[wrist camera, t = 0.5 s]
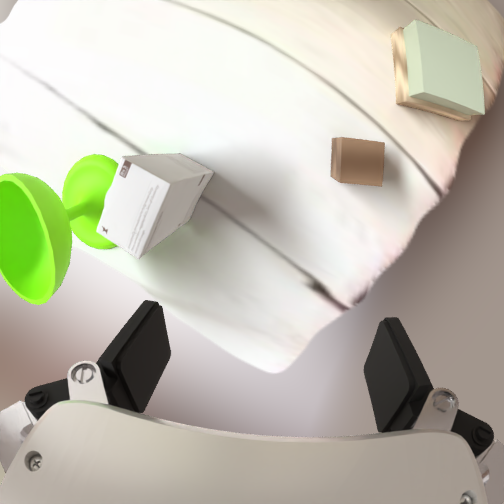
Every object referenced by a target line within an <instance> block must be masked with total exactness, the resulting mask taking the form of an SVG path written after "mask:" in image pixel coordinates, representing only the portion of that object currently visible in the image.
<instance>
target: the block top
mask: <svg viewBox="0 0 504 504" xmlns="http://www.w3.org/2000/svg"><path fill="white" fill-rule="evenodd" d="M403 34H404V41H405V49H406V58H407V70H408V86H409V96H410V97H414V98H417V99H421V100H424V101H428V102H431V103H434V104H438V105H441V106H444V107H447V108H450V109H453V110H455V111H458V112H461V113H464V114H466V115H484V114H485V108H484V93H483V82H482V74H481V66H480V60H479V54H478V49H477V46H475V45H473V44H471V43H469V42H467V41H465V40H463V39H461V38H459V37H457V36H455V35H453V34H451V33H448V32H446V31H444V30H442V29H439V28H437V27H434V26H432V25H429V24H427V23H424V22H421V21H418V20H414V21H413V22H411V23H410V24H409V25H408V26H407V27H405V28H404V29H403Z"/></svg>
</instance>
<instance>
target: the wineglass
mask: <svg viewBox="0 0 504 504" xmlns="http://www.w3.org/2000/svg"><path fill="white" fill-rule="evenodd" d="M117 168H118V164H117V163H116V162H115V161H114V160H113V159H111V158H109V157H106V156H104V155H96V154H93V155H89V156H86V157H84V158H82V159H81V160H79V161H78V162H76V163H75V164H74V166H73V167H72V168H71V170H70V171H69V173H68V175H67V177H66V179H65V182H64V187H63V192H62V201H61V200H60V198H59V196H58V195H57V194H56V193H55V192H54V191H53V190H52V189H51V188H50V187H49V186H48V185H47V184H46V183H45V182H43V181H42V180H40V179H38V178H37V177H34V176H30V175H27V174H22V173H11V174H4V175H2V176H0V273H1V274H2V276H3V278H4V280H5V281H6V282H7V284H8V285H9V286H10V287H11V288H12V290H13V291H14V292H15V293H16V294H17V295H19V296H20V297H21V298H22V299H24V300H25V301H27V302H29V303H32V304H37V305H40V304H43V303H46V302H47V301H48V300H49V298H50V297H51V296H52V295H53V294H54V293H55V291H56V290H57V289H58V288H59V287H60V286H61V283H62V281H63V279H64V277H65V274H66V272H67V269H68V267H69V264H70V256H71V248H72V231H73V233H74V234H75V235H76V236H77V237H78V238H79V239H80V240H81V241H82V242H84V243H85V244H87V245H88V246H90V247H94V248H97V249H110V248H113V247H116V246H118V245H116V244H114V243H113V242H111V241H110V240H108V239H107V238H105V237H104V236H102V235H101V234H99V233H97V232H96V230H97V226H98V224H99V221H100V218H101V215H102V212H103V209H104V202H105V196H106V194H107V191H108V190H109V188H110V187H111V185H112V182H113V179H114V176H115V174H116V171H117ZM71 229H72V230H71Z"/></svg>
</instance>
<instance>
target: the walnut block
mask: <svg viewBox="0 0 504 504" xmlns="http://www.w3.org/2000/svg"><path fill="white" fill-rule="evenodd" d="M384 149H385V143H383V142H377V141H369V140H362V139H353V138H344V137H340V138H332V155H331V177H332V178H334V179H335V180H337V181H338V182H340V183H349V184H361V185H371V186H381V187H382V181H383V168H384Z"/></svg>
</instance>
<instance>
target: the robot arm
mask: <svg viewBox="0 0 504 504" xmlns="http://www.w3.org/2000/svg"><path fill="white" fill-rule="evenodd" d="M170 356H171V350H170V345H169V340H168V335H167V330H166V325H165V319H164V314H163V308H162V306H160V305H159V303H158V302H155V301H148V300H145V301H144V302H143V303H142V304H141V305H140V307H139V308H138V309H137V310H136V312H135V313H134V314H133V315H132V317H131V318H130V319H129V320H128V322H127V323H126V324H125V325H124V327H123V328H122V329H121V331H120V332H119V333H118V335H117V336H116V337H115V338H114V340H113V341H112V342H111V343H110V345H109V346H108V347H107V349H106V350H105V352H104V353H103V354H102V355H101V357H100V358H99V360H98V361H97V363H94V362H92V361H80V362H78V363H76V364H74V365H73V366H72V367H71V368H70V369H69V371H68V378H66V379H63V380H59V381H56V382H52V383H48V384H45V385H41V386H37V387H34V388H32V389H31V390H30V391H29V392H28V393H27V394H26V397H25V402H22V401H21V400H20V401H18V402H17V403H15V404H13V405H11V406H9V407H8V408H6V409H4V410H2V411H0V461H1V464H2V466H3V468H4V471H5V473H6V475H5V476H4V479H3V481H2V483H1V485H0V504H502V503H503V502H504V445H503V444H502V443H501V442H500V441H498V440H496V441H494V440H493V439H494V433H493V430H492V428H491V427H490V426H489V425H488V424H487V423H485V422H483V421H481V420H479V419H477V418H475V417H473V416H471V415H469V414H467V413H465V412H463V411H461V410H459V409H458V405H459V402H458V398H457V397H456V395H455V394H454V393H453V392H452V391H450V390H449V389H446V388H436V389H434V388H433V386H432V384H431V382H430V379H429V377H428V375H427V373H426V371H425V369H424V367H423V364H422V363H421V361H420V358H419V356H418V354H417V353H416V350H415V349H414V346H413V345H412V343H411V341H410V339H409V337H408V335H407V333H406V331H405V330H404V327H403V326H402V324H401V322H400V320H399V319H398V318H397V317H392V318H385V319H384V320H383V321H381V322H380V323H379V326H378V329H377V333H376V335H375V339H374V341H373V344H372V347H371V349H370V352H369V355H368V357H367V360H366V363H365V365H364V375H365V379H366V382H367V386H368V390H369V394H370V398H371V402H372V406H373V411H374V415H375V420H376V424H377V429H378V431H379V432H382V433H377V434H367V435H355V436H339V437H280V436H263V435H252V434H242V433H234V432H226V431H219V430H213V429H206V428H201V427H195V426H190V425H185V424H181V423H176V422H172V421H168V420H164V419H160V418H155V417H151V416H148V415H144V414H140V413H143V412H144V410H145V408H146V406H147V404H148V402H149V400H150V398H151V396H152V394H153V392H154V390H155V388H156V386H157V384H158V381H159V379H160V377H161V375H162V373H163V371H164V369H165V367H166V365H167V363H168V361H169V359H170Z"/></svg>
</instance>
